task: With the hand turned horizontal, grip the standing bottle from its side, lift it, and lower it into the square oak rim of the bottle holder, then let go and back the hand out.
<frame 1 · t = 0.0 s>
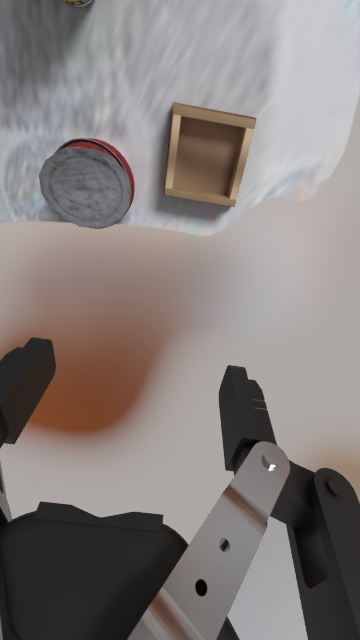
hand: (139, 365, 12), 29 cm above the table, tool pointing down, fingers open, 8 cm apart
canned food: (98, 183, 35), on the table
bottle holder: (206, 158, 33), on the table
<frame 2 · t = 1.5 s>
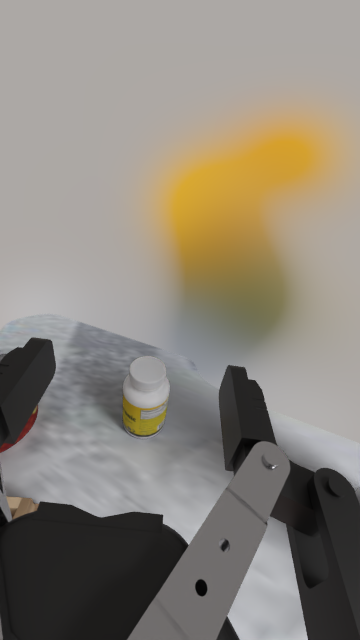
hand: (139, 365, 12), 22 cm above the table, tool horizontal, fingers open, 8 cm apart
supplement bottle: (143, 421, 35), on the table
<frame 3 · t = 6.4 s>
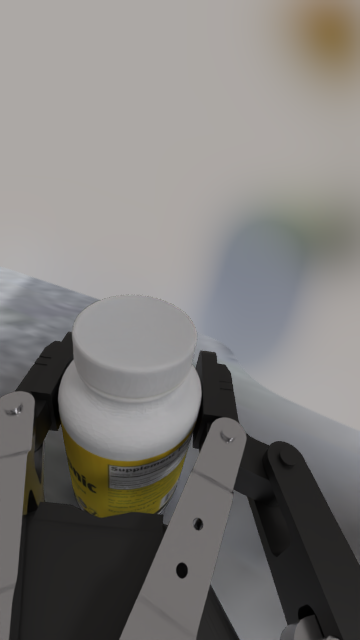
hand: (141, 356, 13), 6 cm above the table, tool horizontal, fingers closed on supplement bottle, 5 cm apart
supplement bottle: (126, 474, 14), on the table, touching gripper
when the fingers open (8 cm above the table, at t = 11.8 s): supplement bottle stays where it is, resting on bottle holder.
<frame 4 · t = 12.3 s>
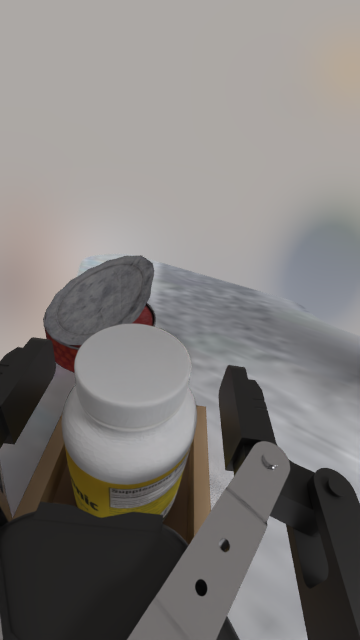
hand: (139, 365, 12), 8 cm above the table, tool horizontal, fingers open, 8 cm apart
canned food: (102, 341, 27), on the table
bottle holder: (124, 493, 16), on the table
supplement bottle: (127, 487, 15), point 1 cm above the table, touching bottle holder
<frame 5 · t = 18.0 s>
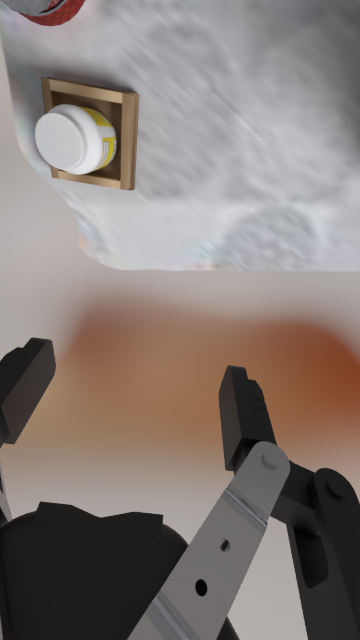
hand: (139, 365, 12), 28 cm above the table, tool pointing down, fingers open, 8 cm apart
bottle holder: (97, 138, 31), on the table
supplement bottle: (95, 140, 30), point 1 cm above the table, touching bottle holder
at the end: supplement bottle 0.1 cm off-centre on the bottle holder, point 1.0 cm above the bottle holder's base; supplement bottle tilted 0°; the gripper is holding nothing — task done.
